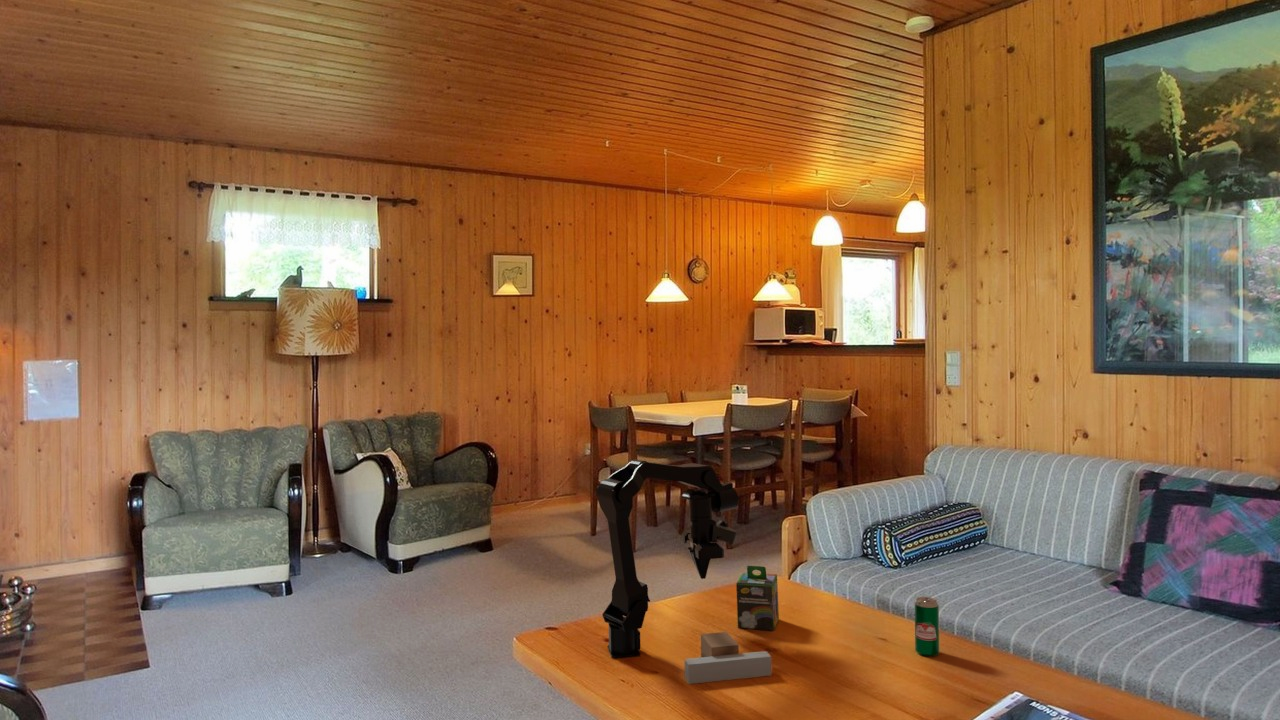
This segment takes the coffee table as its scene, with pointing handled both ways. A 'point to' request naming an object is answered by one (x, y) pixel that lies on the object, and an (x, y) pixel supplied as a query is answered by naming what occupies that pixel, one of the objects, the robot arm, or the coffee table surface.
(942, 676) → the coffee table surface
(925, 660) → the coffee table surface
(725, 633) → the walnut brick
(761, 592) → the chalk box
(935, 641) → the soda can
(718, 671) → the batten
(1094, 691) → the coffee table surface
